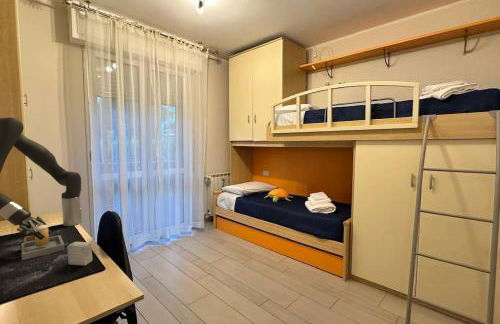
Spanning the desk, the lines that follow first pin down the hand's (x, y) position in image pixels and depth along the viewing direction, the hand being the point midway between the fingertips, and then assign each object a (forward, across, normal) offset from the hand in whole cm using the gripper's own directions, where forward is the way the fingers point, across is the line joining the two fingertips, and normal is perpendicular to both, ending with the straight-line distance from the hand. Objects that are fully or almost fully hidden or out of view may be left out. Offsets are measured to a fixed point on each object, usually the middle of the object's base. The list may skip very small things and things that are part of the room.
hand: (46, 235), depth 117 cm
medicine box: (+20, -18, -10) cm, 29 cm away
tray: (+3, 0, +6) cm, 7 cm away
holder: (-3, +11, +12) cm, 17 cm away
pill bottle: (+2, 0, +4) cm, 5 cm away
